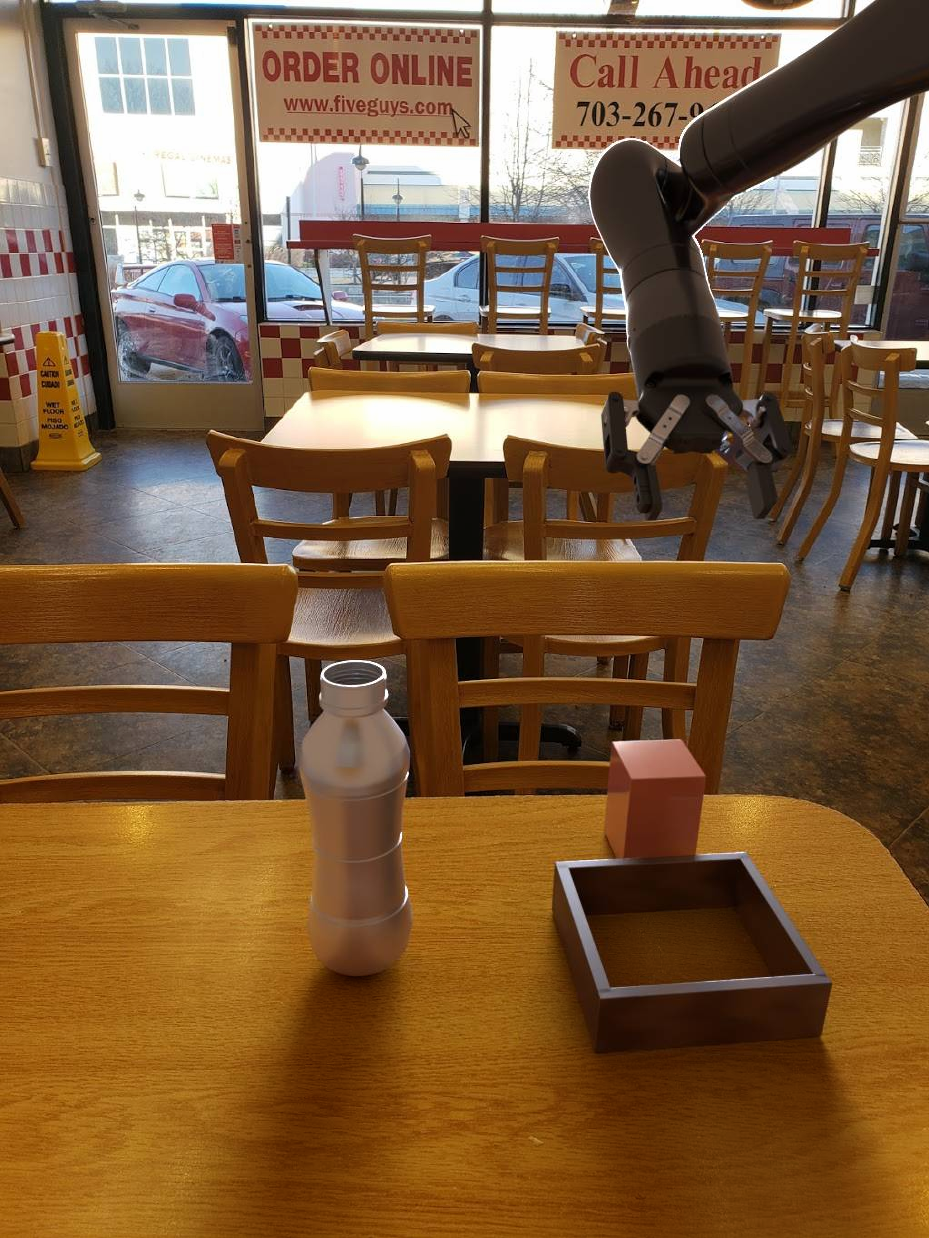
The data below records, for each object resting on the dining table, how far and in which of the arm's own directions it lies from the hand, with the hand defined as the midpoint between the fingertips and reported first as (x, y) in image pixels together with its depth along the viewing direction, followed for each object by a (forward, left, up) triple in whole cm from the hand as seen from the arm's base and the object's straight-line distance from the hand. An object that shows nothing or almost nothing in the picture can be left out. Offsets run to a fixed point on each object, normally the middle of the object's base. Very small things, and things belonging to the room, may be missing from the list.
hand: (709, 514), depth 71 cm
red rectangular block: (+5, +8, -24) cm, 26 cm away
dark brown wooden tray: (+7, +20, -24) cm, 32 cm away
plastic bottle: (+27, +17, -25) cm, 40 cm away
